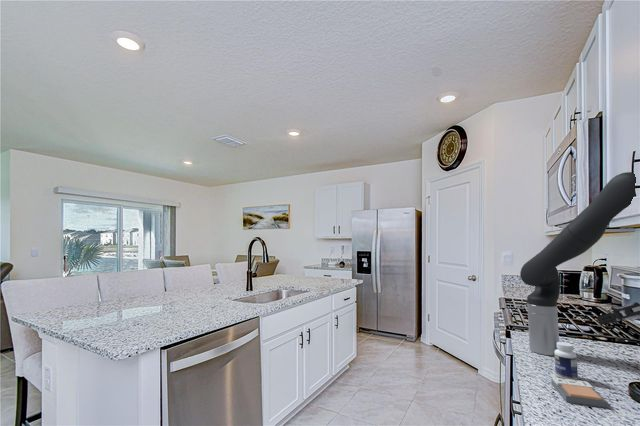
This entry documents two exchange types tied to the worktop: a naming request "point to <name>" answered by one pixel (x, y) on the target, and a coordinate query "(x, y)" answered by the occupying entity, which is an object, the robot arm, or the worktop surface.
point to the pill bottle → (565, 361)
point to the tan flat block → (578, 392)
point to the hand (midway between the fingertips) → (602, 320)
